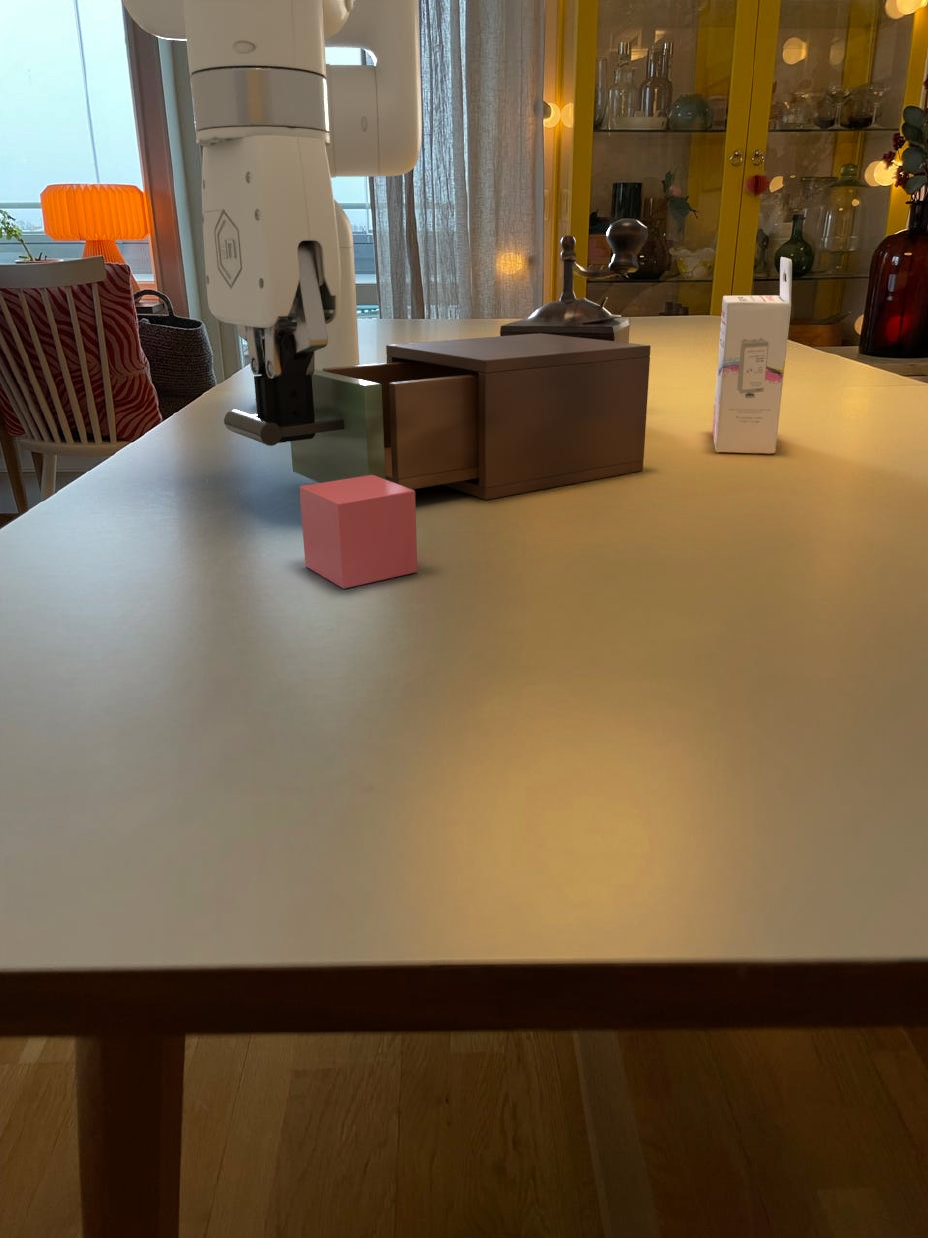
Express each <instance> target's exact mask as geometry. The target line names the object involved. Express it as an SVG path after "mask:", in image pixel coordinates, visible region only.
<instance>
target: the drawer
mask: <svg viewBox="0 0 928 1238" xmlns="http://www.w3.org/2000/svg"><path fill="white" fill-rule="evenodd" d="M312 387H313V402H314V417H315V422H309V423H301V424H293V425H284V426H278V425H277V424H276V423H273V422H270V421H267V420H264V419H262V418H259V417H257V413H254V414H250V413H247V412H244V411H241V410H238V409H230V410H229V411H227V412H226V414H225V415H224V419H223V423H224V426H225V427H226V429H227V430H228V431H230V432H233V433H235V434H238V435H240V436H243V437H245V438H247V439H250V440H253V441H256V442H258V443H260V444H263V445H266V446H269V447H273V446H276V445H278V444H279V443H278V442H279V441H280V440H281V437H288V436H296V435H304V434H312V433H315V436H314V437H313V438H312V439H306V440H298V441H291V442H290V450H291V451H290V452H291V465H292V472H293V473H295V474H297V475H300V476H303V477H305V478H308V479H310V480H312V481H315V482H317V483H324V482H330V481H336V480H343V479H349V478H355V477H362V476H368V475H374V476H377V477H380V478H382V479H385V480H388V481H390V482H393V483H396V484H398V485H401V486H404V487H406V488H409V489H412V490H417V489H422V488H429V487H434V486H440V485H442V484H447V483H453V482H458V481H464V480H470V479H476V478H479V372H477V371H471V370H465V369H459V368H454V367H448V366H442V365H436V364H430V363H425V362H419V361H401V362H390V363H387V362H380V363H379V362H378V363H369V364H359V365H355V366H344V367H332V368H323V369H322V371H320V370H316V369H314V374H313V375H312Z"/></svg>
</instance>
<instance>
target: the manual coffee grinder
mask: <svg viewBox="0 0 928 1238" xmlns="http://www.w3.org/2000/svg"><path fill="white" fill-rule="evenodd" d="M648 237H649V231H648V227H647V226H646V225H644V224H643V223H642V222H641V221H640V220H637V219H634V218H628V217H627V218H620V219H618V220H616V221H614V222H612V223H611V224H610V225H609V227H608V229H607V231H606V239H605V240H606V243H607V244H608V245H609V247H610V248H611V251H612V254H613V255H612V257H611V261H610V262H609V264H608V268H605V269H592V268H586V267H583V266H581V265H579V264H578V263H576V262H577V252H575V247H576V243H577V241H576V238H575V236H573V235H571V234H566V235H564V236H563V237H562V238H561V240H560V247H561V249H562V251H561V252H560V260H559V261H560V262H561V263H562V265H563V267H562V276H563V277H562V282H563V283H562V293H561V295H560V296H559V297H560V298H559V300H554V301H549V302H548V303H545V304H544V305H542V306H540V307H539V308H536V310H535V311H534V312H533V313H531V315H530V316H528V317H527V318H524V319H519V320H516V321H512V322H508V323H506V324H502V325H500V327H499V328H500V330H499V336H511V335H525V334H538V333H542V334H551V335H560V336H569V337H579V338H588V339H597V340H606V341H615V342H625V343H630V329H631V318H630V317H622V315H621V314H613V313H611V312H610V311H608V310H607V309H606V308H605V306H606V303H607V301H608V297H605V298H604V299H603V300H602V301H601V304H598V303H596V302H594V301H591V300H589V299H587V298H586V297H580V298H577V297H576V294H575V292H574V275H575V276H577V277H581V278H584V279H590V280H602V279H603V280H604V279H607V278H611V277H614V276H619V277H620V278H624V276H625V275H627V274H629V273H636V271H638V270H639V269H640V266H639V264H638V255H639V254H640V251H641V250H642V248H643V247H644V246H645V244H646V243H647V241H648Z"/></svg>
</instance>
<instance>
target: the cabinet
mask: <svg viewBox="0 0 928 1238" xmlns="http://www.w3.org/2000/svg"><path fill="white" fill-rule="evenodd" d="M385 350H386V352H385V353H386V363H390V362H401V361H419V362H425V363H430V364H436V365H442V366H448V367H454V368H459V369H465V370H471V371H477V372H479V478H476V479H470V480H464V481H458V482H453V483H447V484H441V485H443V486H445V487H448V488H451V489H454V490H456V491H458V492H463V493H465V494H468V495H471V496H474V497H477V498H479V499H481V500H485V501H488V500H493V499H499V498H503V497H508V496H513V495H521V494H526V493H530V492H535V491H541V490H547V489H551V488H557V487H562V486H567V485H573V484H577V483H578V484H579V483H583V482H589V481H593V480H594V481H595V480H598V479H599V480H600V479H605V478H610V477H616V476H622V475H626V474H631V473H637V472H642V471H643V470H644V460H645V445H646V444H645V443H646V427H647V412H648V399H649V398H648V397H649V379H650V366H651V365H650V363H651V345H649V344H642V343H633V342H629V343H625V342H615V341H606V340H597V339H588V338H579V337H569V336H560V335H551V334H542V333H538V334H525V335H511V336H500V335H499V336H488V337H487V336H486V337H474V338H462V339H461V338H460V339H449V340H448V339H447V340H445V339H444V340H432V341H422V342H421V341H420V342H407V343H396V344H394V343H393V344H386V346H385Z"/></svg>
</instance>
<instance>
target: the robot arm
mask: <svg viewBox="0 0 928 1238" xmlns="http://www.w3.org/2000/svg"><path fill="white" fill-rule="evenodd" d="M121 1H122V4H123V6H124V7H125V9H126V10H127V13H128V14H129V16H130V18H131V19H132V20H133V21H134V22H135V24H137V25H138V26H139V27H140V28H141V29H142V30H144V31H145V32H146V33H148V34H151V35H152V36H155V37H156V38H161V39H164V40H170V41H173V40H174V41H185V42H186V49H187V50H186V52H187V61H188V62H187V63H188V69H189V77H190V78H189V81H190V89H191V98H192V99H191V100H192V108H193V110H192V111H193V116H194V117H193V119H194V128H195V139H196V144H197V145H199V146H202V160H201V163H202V164H201V218H202V219H201V220H202V235H203V236H202V237H203V238H202V239H203V253H204V268H205V283H206V285H205V286H206V295H207V296H206V297H207V305H208V309H209V311H210V313H211V315H212V316H213V317H215V319H217V320H218V321H219V322H223V323H227V324H232V325H236V332H237V334H238V336H239V337H240V338H241V339H242V340H244V341H245V342H246V345H247V353H248V359H249V365H250V370H251V373H252V375H254V376H253V383H254V394H255V406H256V407H255V408H256V414H257V417H259V418H262V419H264V420H267V421H270V422H273V423H276V424H277V425H278V426H284V425H293V424H301V423H309V422H315V417H314V402H313V387H312V375H313V374H314V369H316V370H320V371H322V369H323V368H332V367H344V366H355V365H360V347H359V329H358V328H359V327H358V326H359V325H358V305H357V288H356V265H355V264H356V263H355V249H354V248H355V245H354V233H353V228H352V224H351V221H350V219H349V216H348V214H347V213H346V212H345V210H344V208H343V207H342V206H341V205H340V204H339V203H338V201H337V200H336V199H335V198H334V190H333V184H332V178H333V179H334V178H339V177H340V178H341V177H343V178H344V177H345V178H346V177H347V178H350V177H351V178H353V177H355V178H357V177H358V178H359V177H363V178H364V177H365V178H366V177H367V178H368V177H374V178H375V177H376V178H377V177H398V176H402V175H406V174H408V173H410V172H411V171H412V170H413V169H415V167H416V165H417V164H418V161H419V158H420V155H421V147H422V137H423V116H422V113H423V112H422V111H423V109H422V77H421V76H422V75H421V44H420V43H421V42H420V41H421V40H420V38H421V37H420V35H421V34H420V4H419V3H420V2H419V0H121ZM326 48H333V49H335V48H336V49H337V48H338V49H339V48H341V49H361V50H364V51H366V52H367V53H368V54H369V55H370V56H371V58H372V61H373V64H372V65H371V64H330V63H327V62H326V61H327V60H326ZM314 436H315V433H312V434H304V435H296V436H288V437H281V440H280V441H279V442H278V443H277V444H280V443H281V444H283V443H291V441H298V440H306V439H312V438H313V437H314Z"/></svg>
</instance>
